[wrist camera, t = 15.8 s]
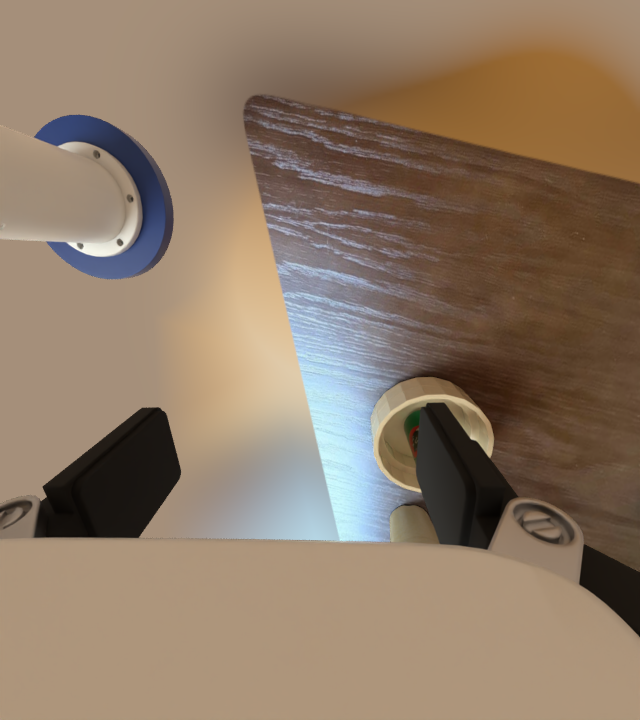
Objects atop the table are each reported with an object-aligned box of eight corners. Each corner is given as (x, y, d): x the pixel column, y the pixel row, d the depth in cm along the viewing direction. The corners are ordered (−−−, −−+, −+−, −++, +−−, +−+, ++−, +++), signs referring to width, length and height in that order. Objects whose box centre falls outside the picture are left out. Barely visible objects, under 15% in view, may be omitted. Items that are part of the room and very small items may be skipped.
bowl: (370, 462, 45) (374, 492, 39) (369, 376, 40) (373, 396, 34) (467, 462, 43) (486, 493, 38) (478, 373, 39) (501, 393, 33)
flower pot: (389, 489, 46) (399, 539, 38) (447, 503, 46) (470, 556, 38) (372, 532, 49) (378, 586, 41) (426, 545, 49) (443, 602, 41)
